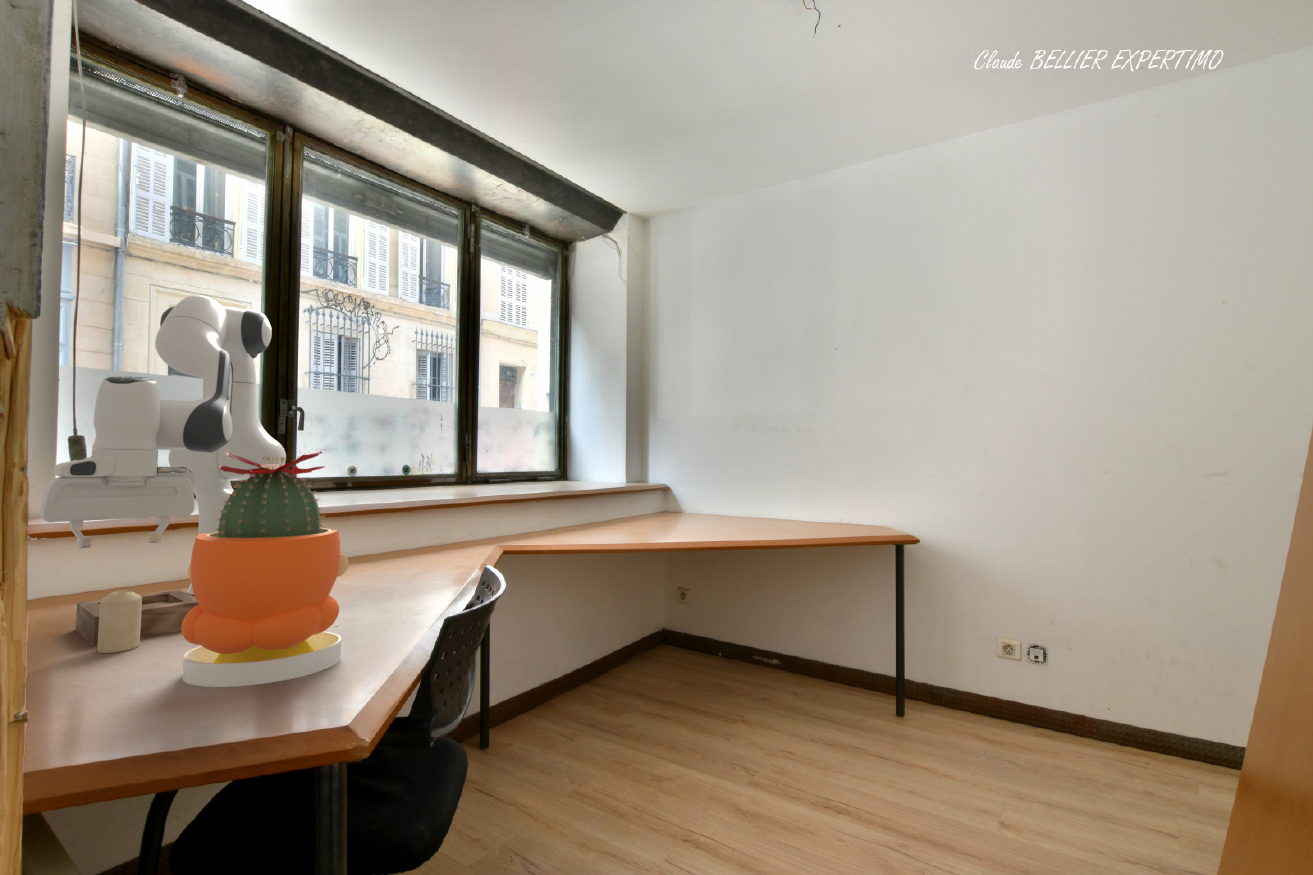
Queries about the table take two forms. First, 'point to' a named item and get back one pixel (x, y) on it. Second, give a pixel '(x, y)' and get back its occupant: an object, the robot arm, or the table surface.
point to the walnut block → (156, 614)
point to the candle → (119, 622)
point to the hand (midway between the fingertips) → (120, 545)
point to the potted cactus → (264, 584)
